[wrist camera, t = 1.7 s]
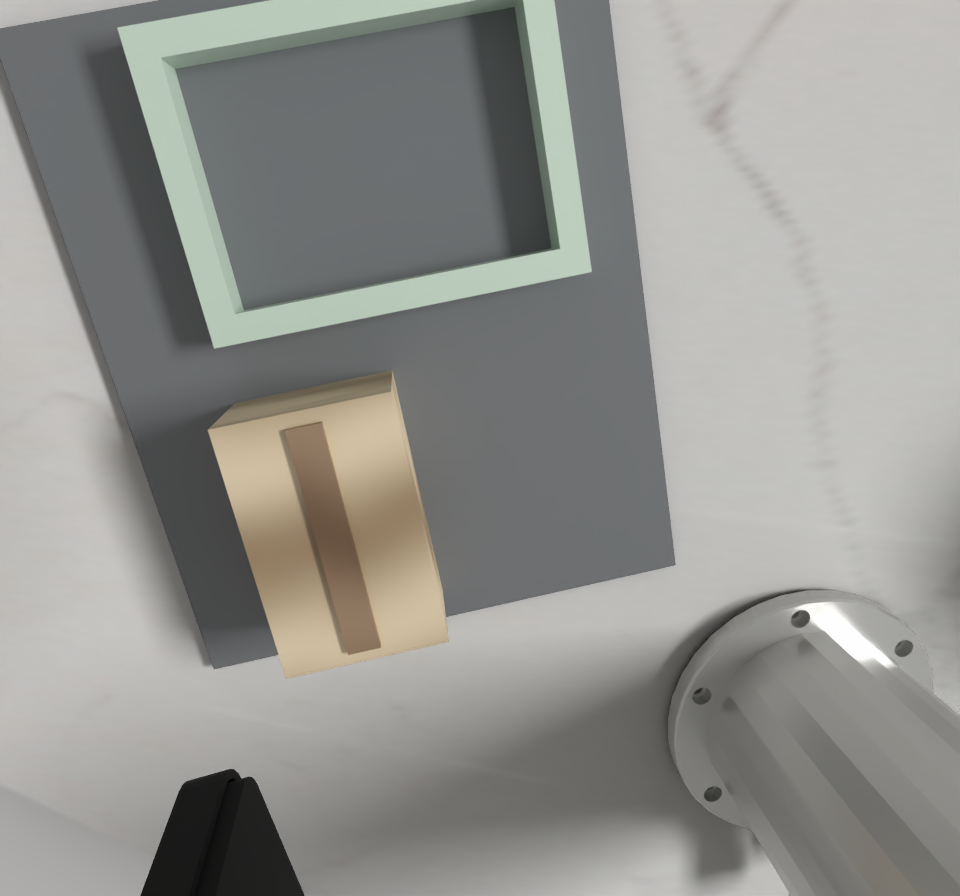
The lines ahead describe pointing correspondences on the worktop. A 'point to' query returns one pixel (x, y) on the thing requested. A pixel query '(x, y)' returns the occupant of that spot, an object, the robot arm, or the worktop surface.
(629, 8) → the worktop surface
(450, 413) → the rubber mat
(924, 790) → the robot arm
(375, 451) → the wooden block
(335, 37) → the tray frame
